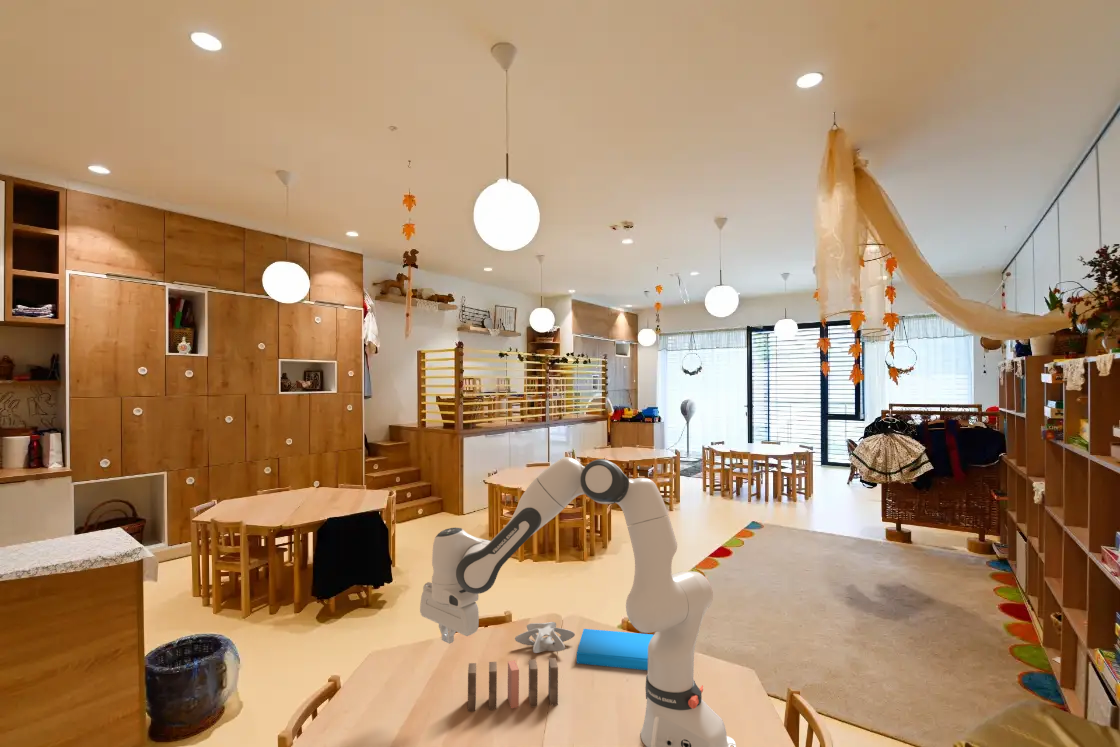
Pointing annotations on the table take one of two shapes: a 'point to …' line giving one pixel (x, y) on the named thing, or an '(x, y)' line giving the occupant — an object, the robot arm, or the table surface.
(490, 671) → the tile
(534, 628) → the sculpture
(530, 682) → the tile
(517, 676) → the tile
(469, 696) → the tile
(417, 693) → the table surface
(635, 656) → the book
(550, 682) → the tile
